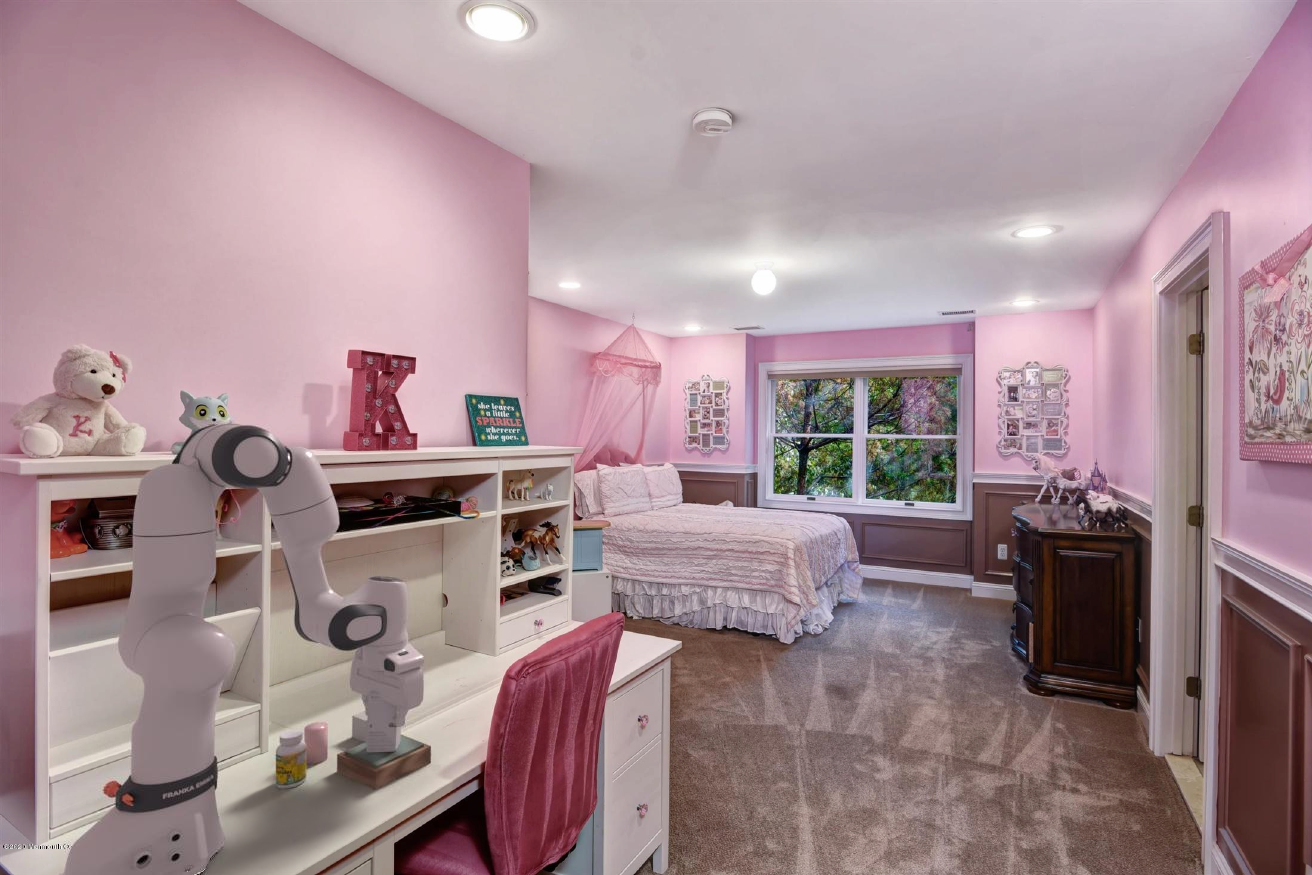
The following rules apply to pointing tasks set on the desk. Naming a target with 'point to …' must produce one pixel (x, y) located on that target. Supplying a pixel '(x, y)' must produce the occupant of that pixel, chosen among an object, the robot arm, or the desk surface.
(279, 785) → the supplement bottle
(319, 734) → the pink pillar
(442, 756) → the desk surface
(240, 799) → the desk surface
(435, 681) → the desk surface
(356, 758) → the tray
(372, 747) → the skincare box
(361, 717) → the light gray block
